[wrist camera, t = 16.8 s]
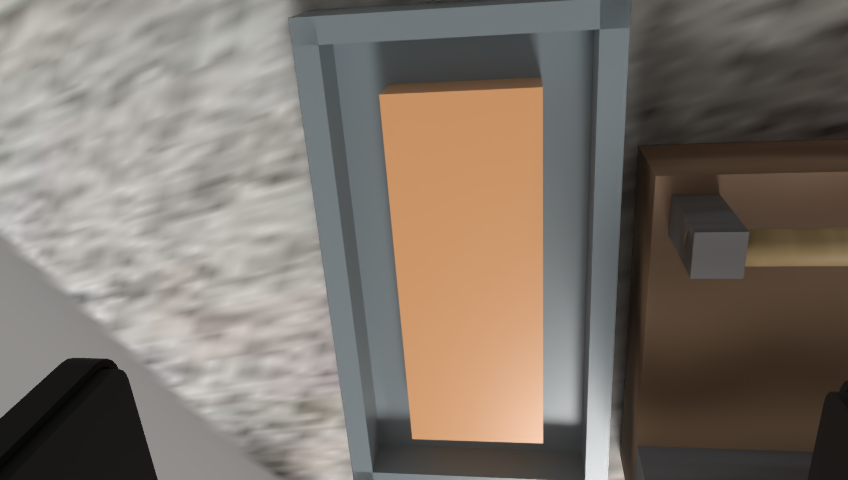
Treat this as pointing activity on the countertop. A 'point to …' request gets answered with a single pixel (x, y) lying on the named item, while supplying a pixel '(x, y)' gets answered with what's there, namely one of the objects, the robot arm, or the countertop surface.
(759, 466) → the dispenser
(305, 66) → the tray
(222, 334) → the countertop surface
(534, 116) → the orange rectangular block
